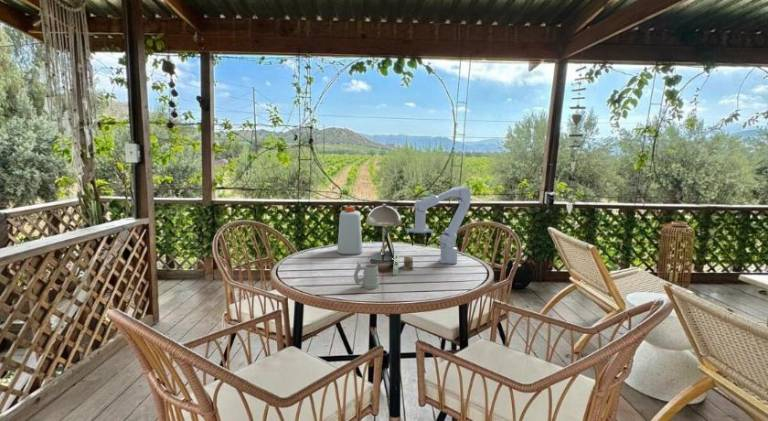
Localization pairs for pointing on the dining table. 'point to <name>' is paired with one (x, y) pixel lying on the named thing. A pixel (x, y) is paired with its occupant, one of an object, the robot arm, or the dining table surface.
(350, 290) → the dining table surface
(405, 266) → the frame block
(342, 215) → the plastic bottle
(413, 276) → the dining table surface
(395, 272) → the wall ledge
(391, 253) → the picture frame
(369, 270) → the mug
